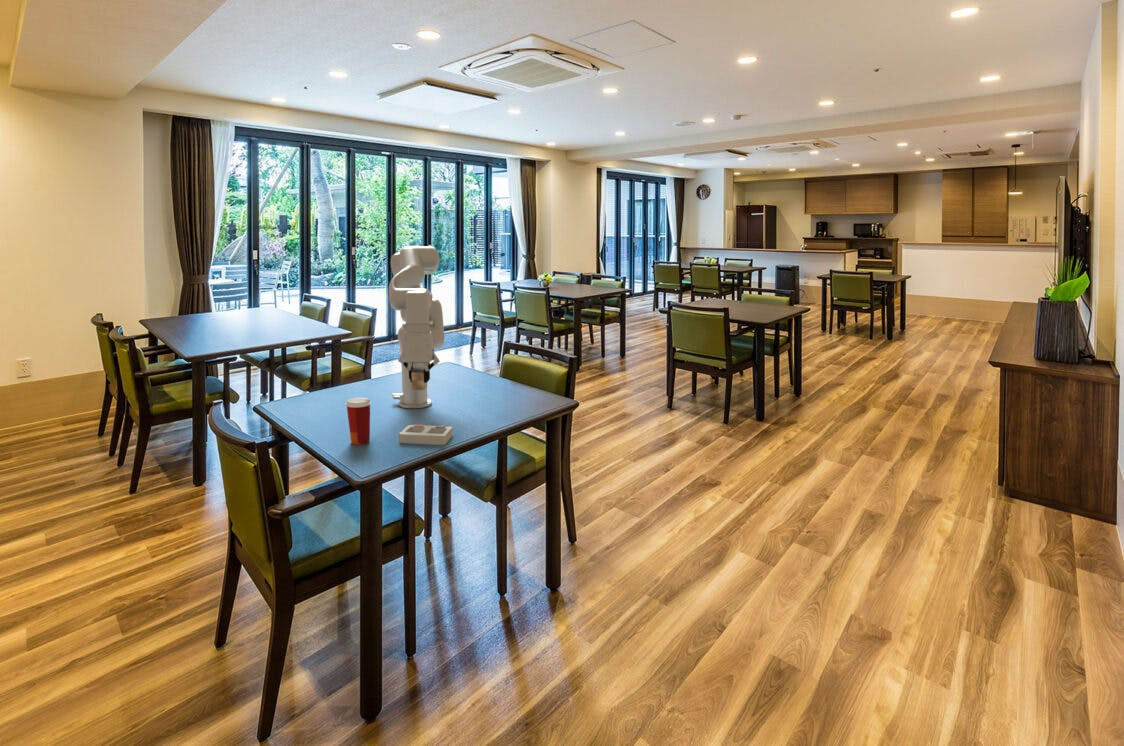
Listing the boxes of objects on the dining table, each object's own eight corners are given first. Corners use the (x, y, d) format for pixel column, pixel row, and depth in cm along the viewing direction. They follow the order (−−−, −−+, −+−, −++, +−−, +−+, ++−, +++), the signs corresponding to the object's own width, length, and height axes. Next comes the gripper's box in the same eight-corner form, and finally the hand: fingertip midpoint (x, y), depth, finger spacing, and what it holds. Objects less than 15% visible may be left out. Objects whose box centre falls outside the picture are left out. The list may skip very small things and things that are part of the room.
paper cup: (375, 438, 202) (373, 397, 199) (369, 446, 195) (367, 403, 192) (351, 438, 202) (349, 396, 199) (344, 446, 194) (341, 403, 191)
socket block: (399, 442, 198) (398, 433, 197) (409, 433, 208) (409, 423, 207) (444, 445, 197) (444, 435, 196) (452, 435, 207) (452, 425, 206)
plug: (411, 389, 207) (411, 369, 206) (415, 386, 211) (415, 366, 210) (423, 390, 207) (423, 369, 206) (427, 387, 211) (426, 367, 210)
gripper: (389, 329, 202) (391, 383, 206) (439, 330, 200) (440, 385, 204) (397, 325, 209) (399, 378, 213) (445, 327, 208) (446, 380, 212)
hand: (419, 381), depth 209 cm, fingers closed on plug, 4 cm apart
